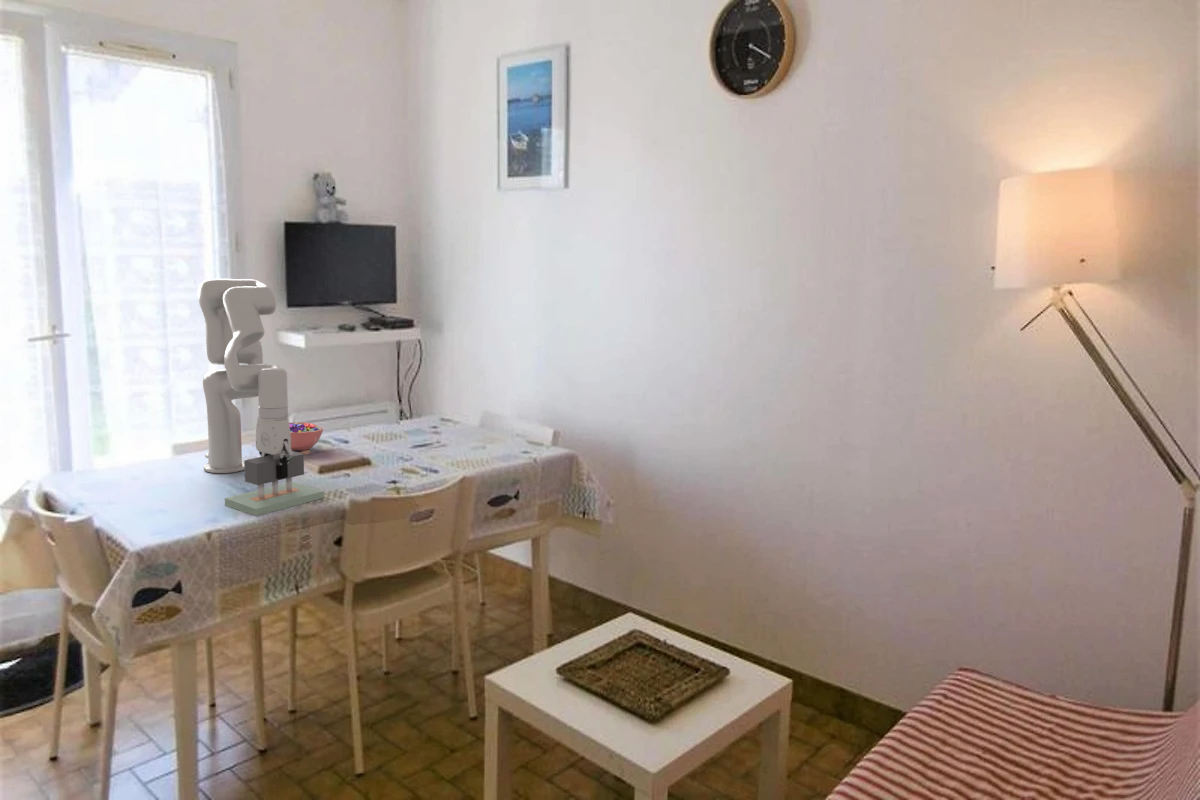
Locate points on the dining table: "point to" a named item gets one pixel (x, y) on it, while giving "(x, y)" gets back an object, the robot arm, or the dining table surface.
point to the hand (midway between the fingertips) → (275, 475)
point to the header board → (274, 497)
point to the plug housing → (272, 468)
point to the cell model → (304, 435)
